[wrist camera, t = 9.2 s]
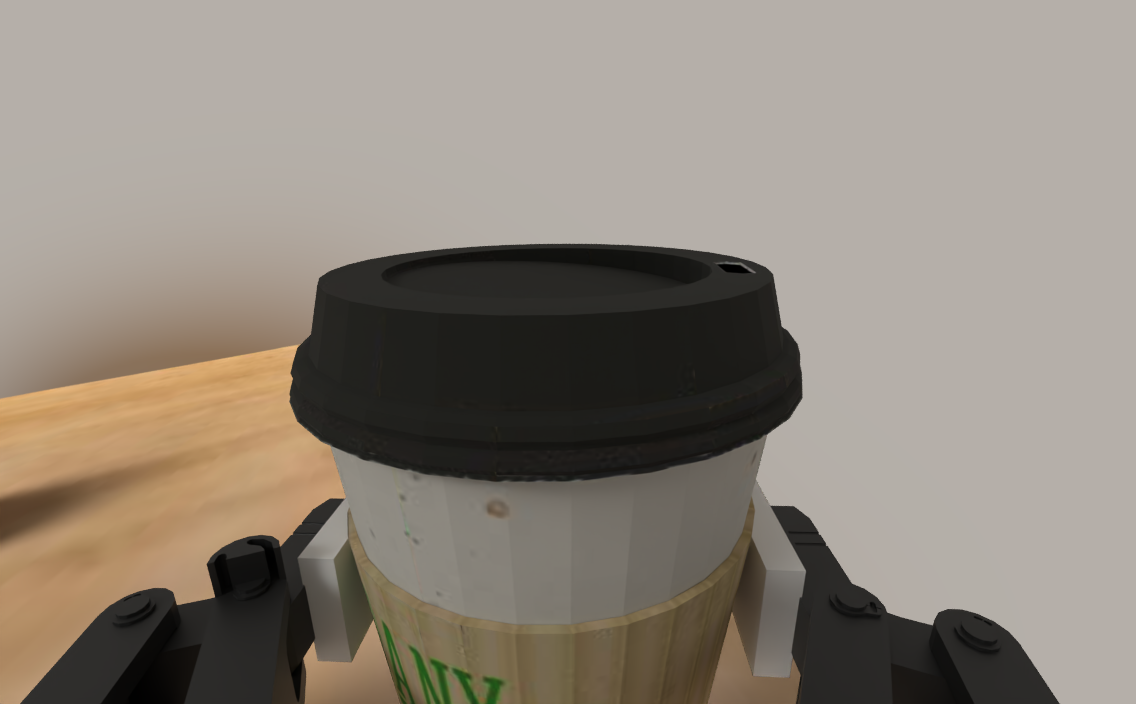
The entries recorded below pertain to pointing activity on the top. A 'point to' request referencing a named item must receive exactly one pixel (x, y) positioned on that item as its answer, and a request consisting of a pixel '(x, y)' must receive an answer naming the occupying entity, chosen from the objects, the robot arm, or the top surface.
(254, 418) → the top surface
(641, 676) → the coffee cup
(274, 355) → the top surface
